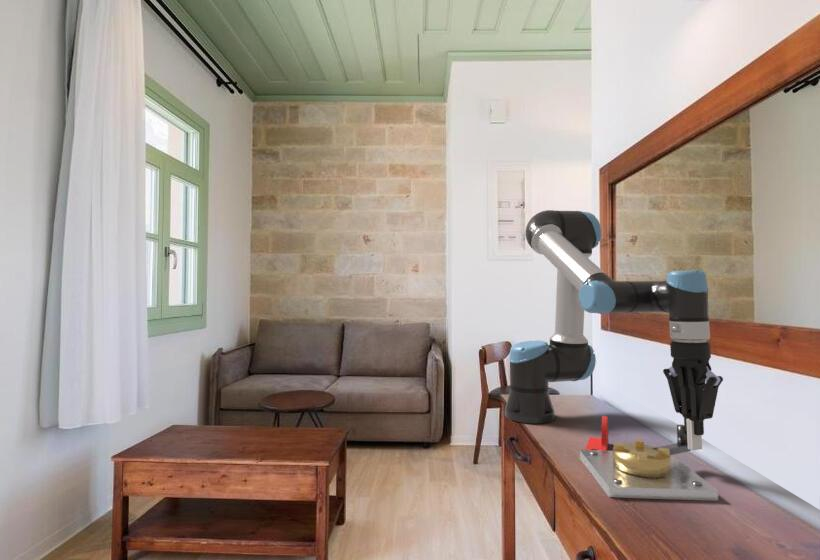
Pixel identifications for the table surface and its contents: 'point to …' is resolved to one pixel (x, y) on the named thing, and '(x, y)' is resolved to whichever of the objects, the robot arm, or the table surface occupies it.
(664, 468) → the ball knob lever
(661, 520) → the table surface
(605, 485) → the flange plate
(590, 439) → the bracket
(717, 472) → the table surface
